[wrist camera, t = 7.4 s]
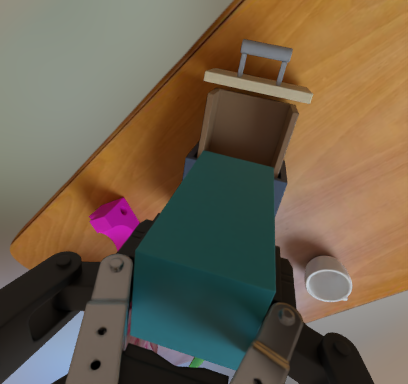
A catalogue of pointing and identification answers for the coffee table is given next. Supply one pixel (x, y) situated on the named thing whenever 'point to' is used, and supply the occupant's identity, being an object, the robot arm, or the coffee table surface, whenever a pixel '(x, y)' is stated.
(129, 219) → the toy block
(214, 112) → the drawer
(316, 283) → the teacup
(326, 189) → the coffee table surface
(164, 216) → the block
